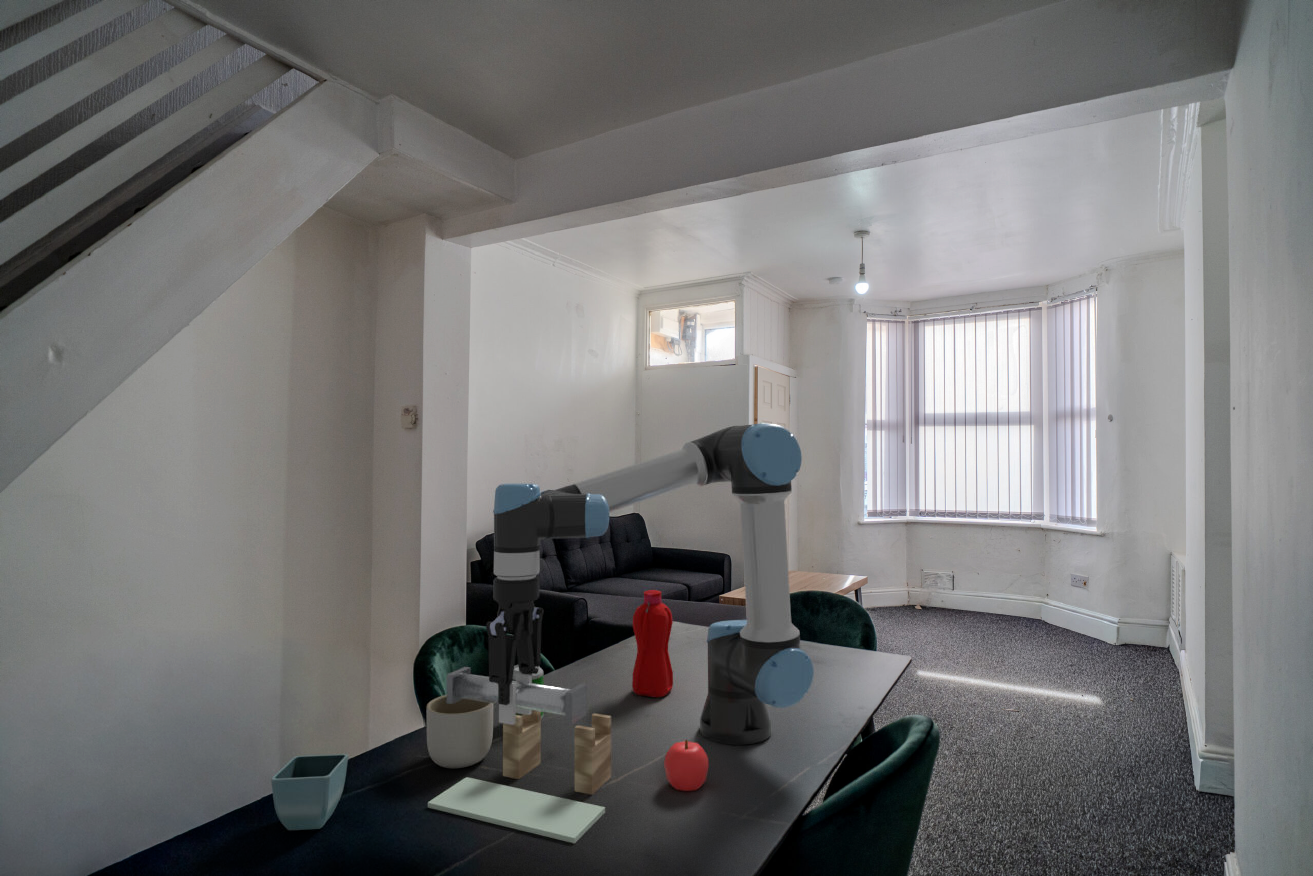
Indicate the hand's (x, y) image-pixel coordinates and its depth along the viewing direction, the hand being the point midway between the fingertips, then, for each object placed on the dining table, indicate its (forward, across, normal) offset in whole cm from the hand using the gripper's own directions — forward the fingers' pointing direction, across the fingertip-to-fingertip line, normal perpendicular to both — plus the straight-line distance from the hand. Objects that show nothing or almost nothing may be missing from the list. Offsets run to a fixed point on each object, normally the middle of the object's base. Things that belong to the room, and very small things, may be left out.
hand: (515, 717), depth 115 cm
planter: (+15, -12, -21) cm, 29 cm away
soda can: (+15, -33, -20) cm, 42 cm away
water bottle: (+15, -61, -2) cm, 63 cm away
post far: (+15, -13, -7) cm, 21 cm away
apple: (+15, -19, +23) cm, 34 cm away
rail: (-2, 0, 0) cm, 2 cm away
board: (+15, 0, 0) cm, 15 cm away
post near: (+15, -13, +8) cm, 21 cm away
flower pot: (+15, +16, -28) cm, 36 cm away
